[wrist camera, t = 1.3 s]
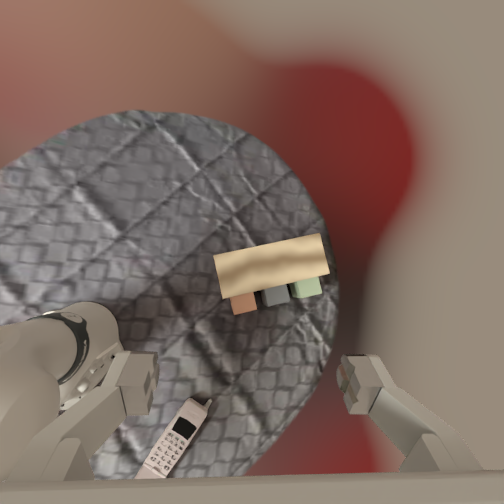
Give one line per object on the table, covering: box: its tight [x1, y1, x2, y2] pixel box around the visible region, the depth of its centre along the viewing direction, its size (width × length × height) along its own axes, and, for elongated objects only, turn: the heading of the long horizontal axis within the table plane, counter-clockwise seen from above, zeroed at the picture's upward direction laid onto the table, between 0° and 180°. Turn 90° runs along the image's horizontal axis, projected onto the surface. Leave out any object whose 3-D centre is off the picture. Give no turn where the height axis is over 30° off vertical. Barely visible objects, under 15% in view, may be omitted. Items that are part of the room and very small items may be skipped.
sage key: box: [289, 276, 322, 298], centre depth 62 cm, size 7×5×7 cm
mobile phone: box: [134, 398, 212, 479], centre depth 55 cm, size 6×6×25 cm
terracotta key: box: [230, 292, 257, 315], centre depth 59 cm, size 7×5×7 cm
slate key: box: [260, 284, 290, 307], centre depth 61 cm, size 7×5×7 cm
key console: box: [213, 233, 330, 299], centre depth 60 cm, size 9×23×10 cm, turn 103°
